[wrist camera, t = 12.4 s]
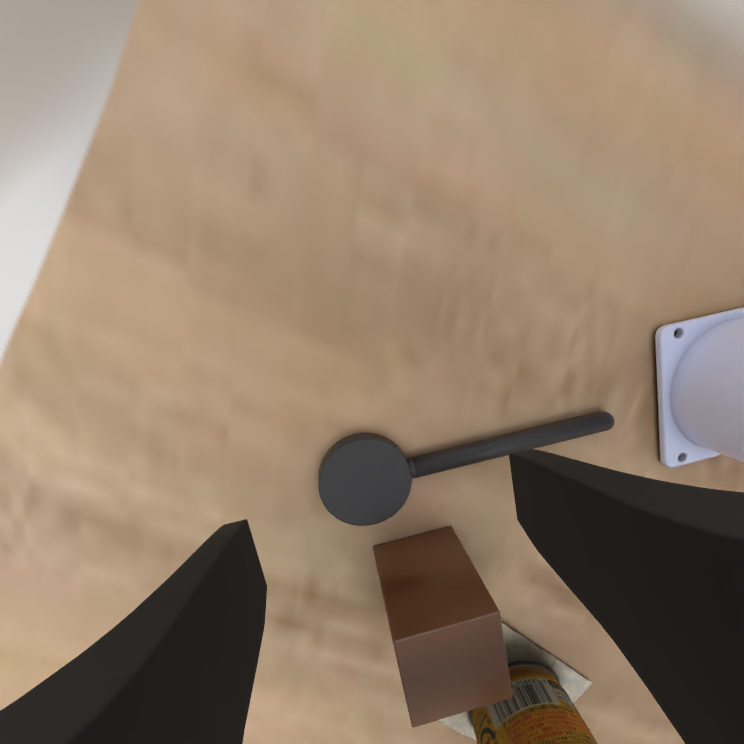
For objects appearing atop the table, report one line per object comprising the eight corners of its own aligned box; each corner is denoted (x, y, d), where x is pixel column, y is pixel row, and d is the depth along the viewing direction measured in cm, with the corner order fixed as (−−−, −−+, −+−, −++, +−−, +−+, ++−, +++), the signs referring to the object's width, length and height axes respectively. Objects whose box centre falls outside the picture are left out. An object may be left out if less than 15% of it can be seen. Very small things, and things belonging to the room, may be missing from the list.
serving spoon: (602, 375, 21) (616, 379, 20) (608, 454, 22) (621, 462, 21) (309, 444, 20) (308, 452, 19) (329, 525, 21) (330, 537, 20)
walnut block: (463, 593, 23) (513, 698, 17) (387, 614, 22) (412, 728, 16) (451, 525, 22) (500, 611, 16) (372, 546, 21) (392, 641, 15)
